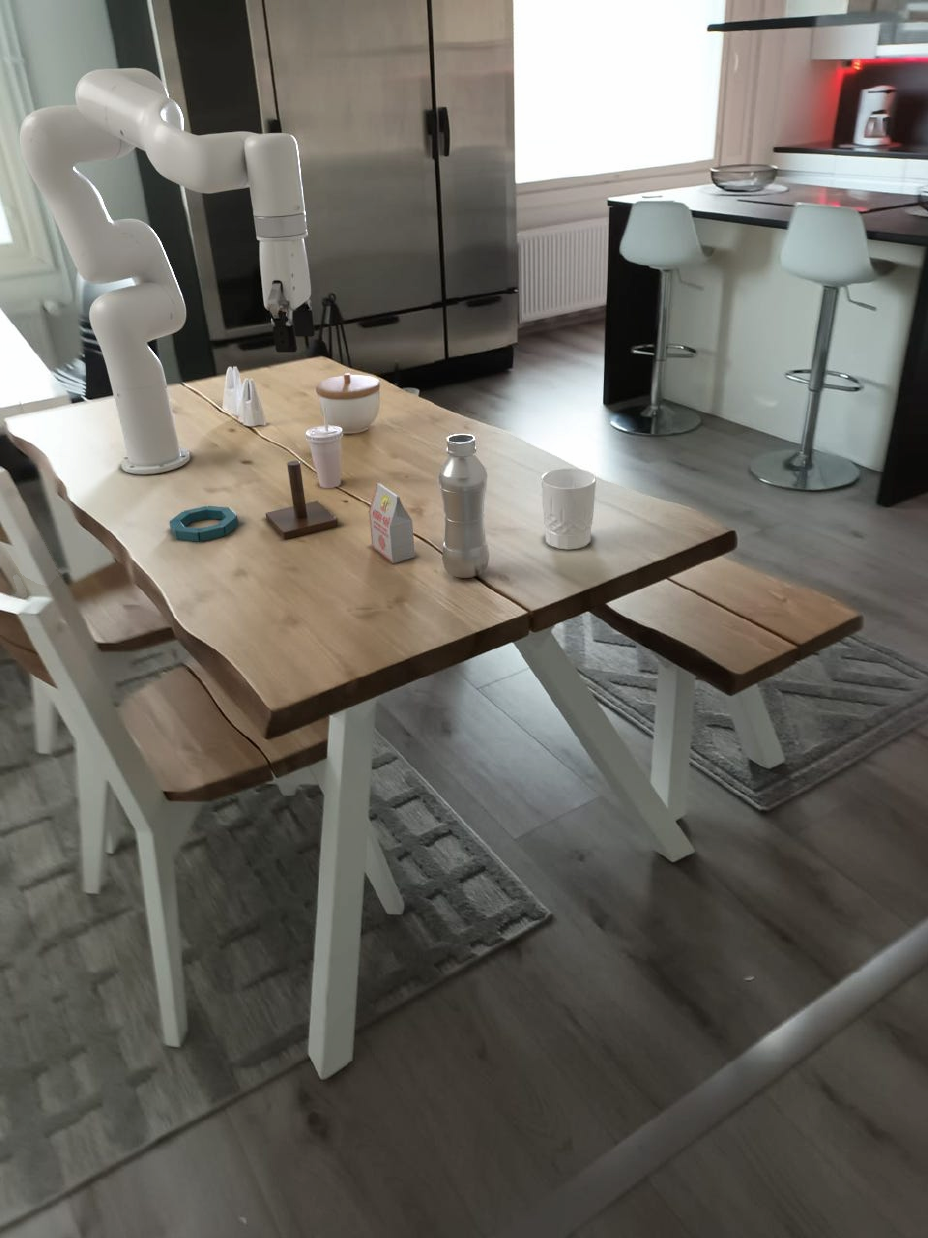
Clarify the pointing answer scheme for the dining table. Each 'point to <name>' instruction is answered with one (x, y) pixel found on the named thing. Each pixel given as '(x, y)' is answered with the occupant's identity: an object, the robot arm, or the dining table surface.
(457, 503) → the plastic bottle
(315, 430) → the smoothie
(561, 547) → the white cup
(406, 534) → the white milk carton
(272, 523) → the brown peg stand
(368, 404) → the lidded bowl
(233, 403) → the white twin peak shape
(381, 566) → the dining table surface
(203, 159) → the robot arm
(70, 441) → the dining table surface
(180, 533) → the ring
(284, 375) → the dining table surface
